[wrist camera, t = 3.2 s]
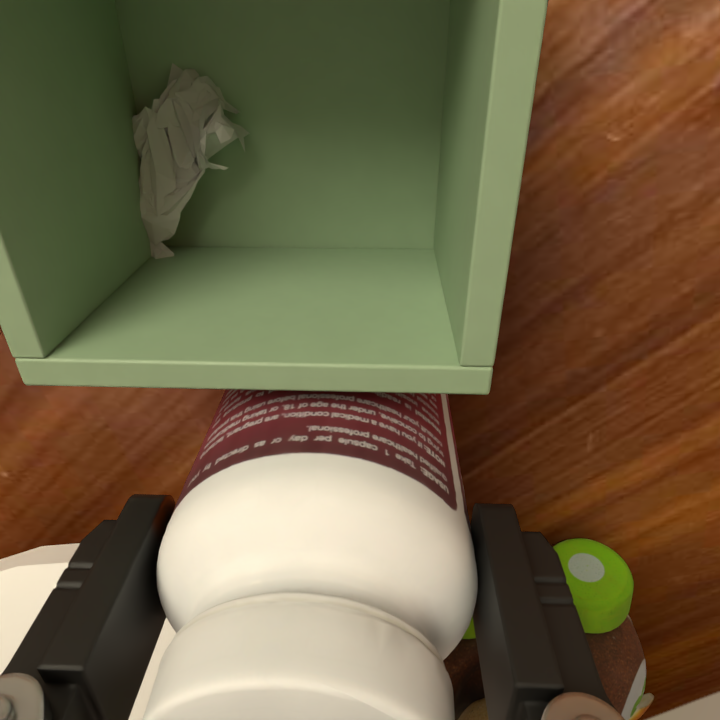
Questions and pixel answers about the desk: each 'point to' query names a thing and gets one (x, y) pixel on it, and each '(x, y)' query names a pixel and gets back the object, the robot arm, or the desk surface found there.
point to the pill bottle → (317, 562)
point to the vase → (29, 593)
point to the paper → (178, 149)
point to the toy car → (600, 623)
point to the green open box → (266, 192)
